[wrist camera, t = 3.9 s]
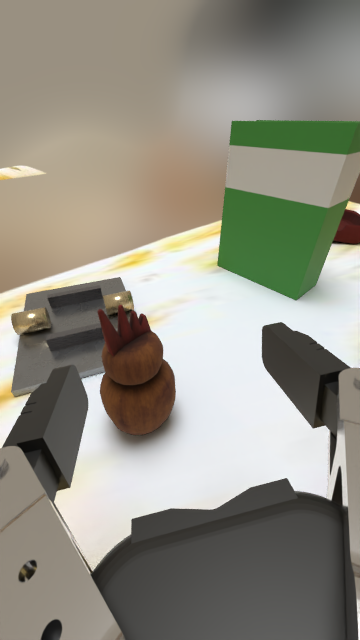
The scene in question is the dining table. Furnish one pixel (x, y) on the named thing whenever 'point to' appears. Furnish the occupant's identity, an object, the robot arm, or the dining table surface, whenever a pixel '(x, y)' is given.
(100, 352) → the metal mounting plate
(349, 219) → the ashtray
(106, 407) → the wooden figurine
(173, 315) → the dining table surface
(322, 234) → the hardback book
